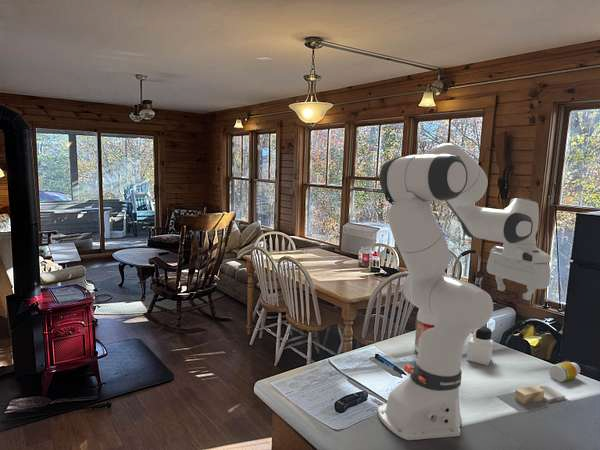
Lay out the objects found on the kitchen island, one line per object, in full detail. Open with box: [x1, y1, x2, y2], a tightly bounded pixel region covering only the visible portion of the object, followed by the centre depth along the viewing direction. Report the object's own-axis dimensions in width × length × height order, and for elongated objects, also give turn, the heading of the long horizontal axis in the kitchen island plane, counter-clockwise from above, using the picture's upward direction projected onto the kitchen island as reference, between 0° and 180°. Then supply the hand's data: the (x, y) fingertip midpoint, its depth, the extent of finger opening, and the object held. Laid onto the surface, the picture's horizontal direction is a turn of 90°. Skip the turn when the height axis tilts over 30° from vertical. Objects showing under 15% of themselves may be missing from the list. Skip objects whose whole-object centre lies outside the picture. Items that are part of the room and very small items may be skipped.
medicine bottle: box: [466, 325, 494, 366], centre depth 148 cm, size 7×7×12 cm
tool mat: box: [495, 385, 572, 414], centre depth 123 cm, size 20×9×1 cm, turn 112°
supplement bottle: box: [548, 361, 581, 383], centre depth 137 cm, size 5×5×10 cm
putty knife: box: [515, 385, 566, 405], centre depth 123 cm, size 15×6×3 cm, turn 112°
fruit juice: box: [414, 308, 436, 353], centre depth 152 cm, size 9×9×28 cm
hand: (513, 294), depth 129 cm, fingers open, 8 cm apart
